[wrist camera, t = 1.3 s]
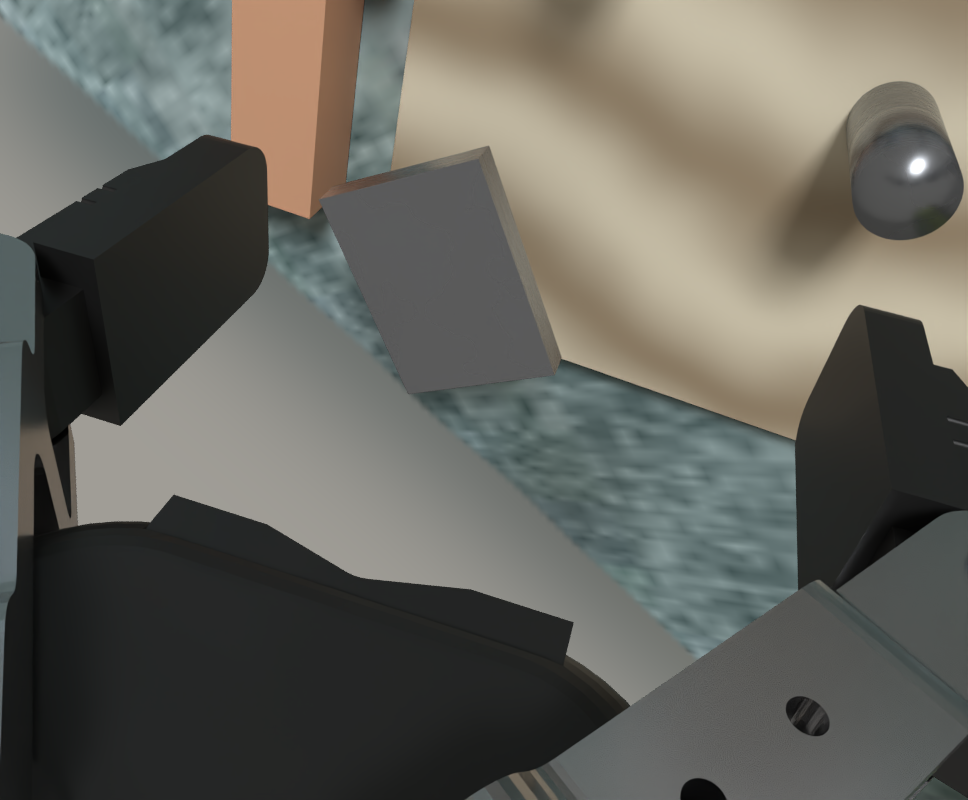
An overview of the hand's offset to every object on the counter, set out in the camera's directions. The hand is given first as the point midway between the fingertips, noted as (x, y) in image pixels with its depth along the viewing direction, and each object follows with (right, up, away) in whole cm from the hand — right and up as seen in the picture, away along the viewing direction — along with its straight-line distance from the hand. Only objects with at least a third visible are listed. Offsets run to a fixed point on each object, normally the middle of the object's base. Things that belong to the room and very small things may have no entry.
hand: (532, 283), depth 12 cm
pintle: (+11, +7, +13) cm, 19 cm away
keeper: (0, +5, +19) cm, 20 cm away
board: (+7, +7, +15) cm, 18 cm away
